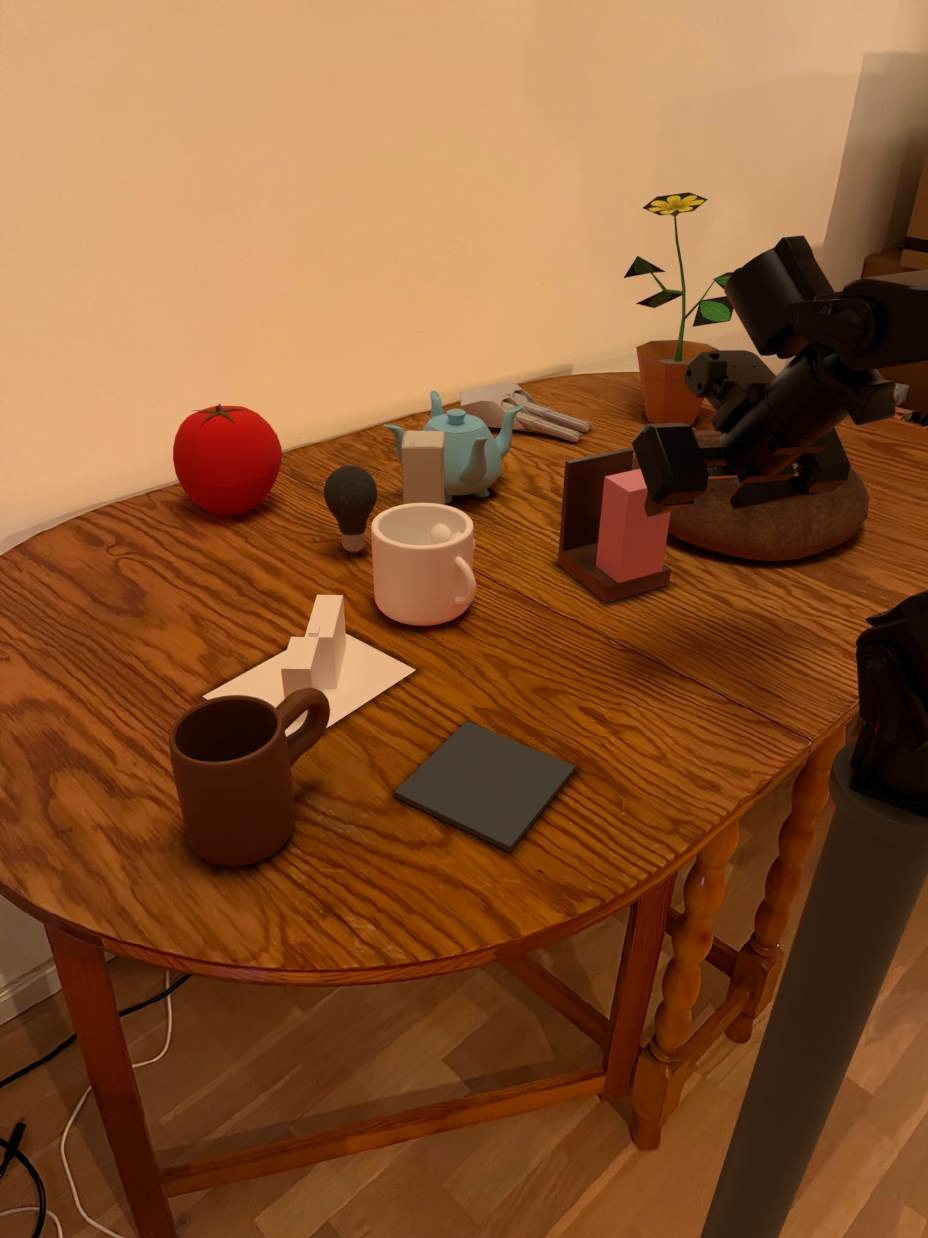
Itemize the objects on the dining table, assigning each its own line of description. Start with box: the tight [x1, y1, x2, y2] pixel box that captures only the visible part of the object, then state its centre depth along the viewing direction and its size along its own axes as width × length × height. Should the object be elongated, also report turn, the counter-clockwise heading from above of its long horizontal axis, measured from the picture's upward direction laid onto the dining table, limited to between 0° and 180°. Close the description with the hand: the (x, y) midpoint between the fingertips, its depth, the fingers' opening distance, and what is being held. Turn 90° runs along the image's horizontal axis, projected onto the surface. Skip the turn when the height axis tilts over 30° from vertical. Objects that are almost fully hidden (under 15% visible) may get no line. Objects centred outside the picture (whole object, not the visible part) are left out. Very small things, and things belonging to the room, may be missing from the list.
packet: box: [596, 469, 671, 583], centre depth 91 cm, size 4×6×10 cm
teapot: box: [382, 389, 524, 504], centre depth 112 cm, size 13×13×10 cm
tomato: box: [172, 403, 283, 516], centre depth 106 cm, size 12×12×13 cm
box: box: [401, 429, 446, 505], centre depth 98 cm, size 5×4×13 cm
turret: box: [459, 380, 594, 443], centre depth 132 cm, size 10×20×5 cm, turn 64°
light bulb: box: [323, 464, 378, 555], centre depth 98 cm, size 6×6×10 cm
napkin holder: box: [202, 594, 416, 737], centre depth 78 cm, size 15×11×6 cm
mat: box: [393, 720, 576, 853], centre depth 69 cm, size 10×10×1 cm
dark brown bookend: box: [557, 447, 672, 604], centre depth 93 cm, size 9×8×12 cm
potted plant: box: [623, 191, 734, 426], centre depth 128 cm, size 18×19×30 cm
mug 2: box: [370, 503, 477, 627], centre depth 88 cm, size 12×10×9 cm
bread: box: [632, 428, 870, 562], centre depth 108 cm, size 28×27×9 cm
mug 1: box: [168, 687, 330, 868], centre depth 64 cm, size 12×8×9 cm, turn 135°
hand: (690, 508), depth 82 cm, fingers open, 9 cm apart
